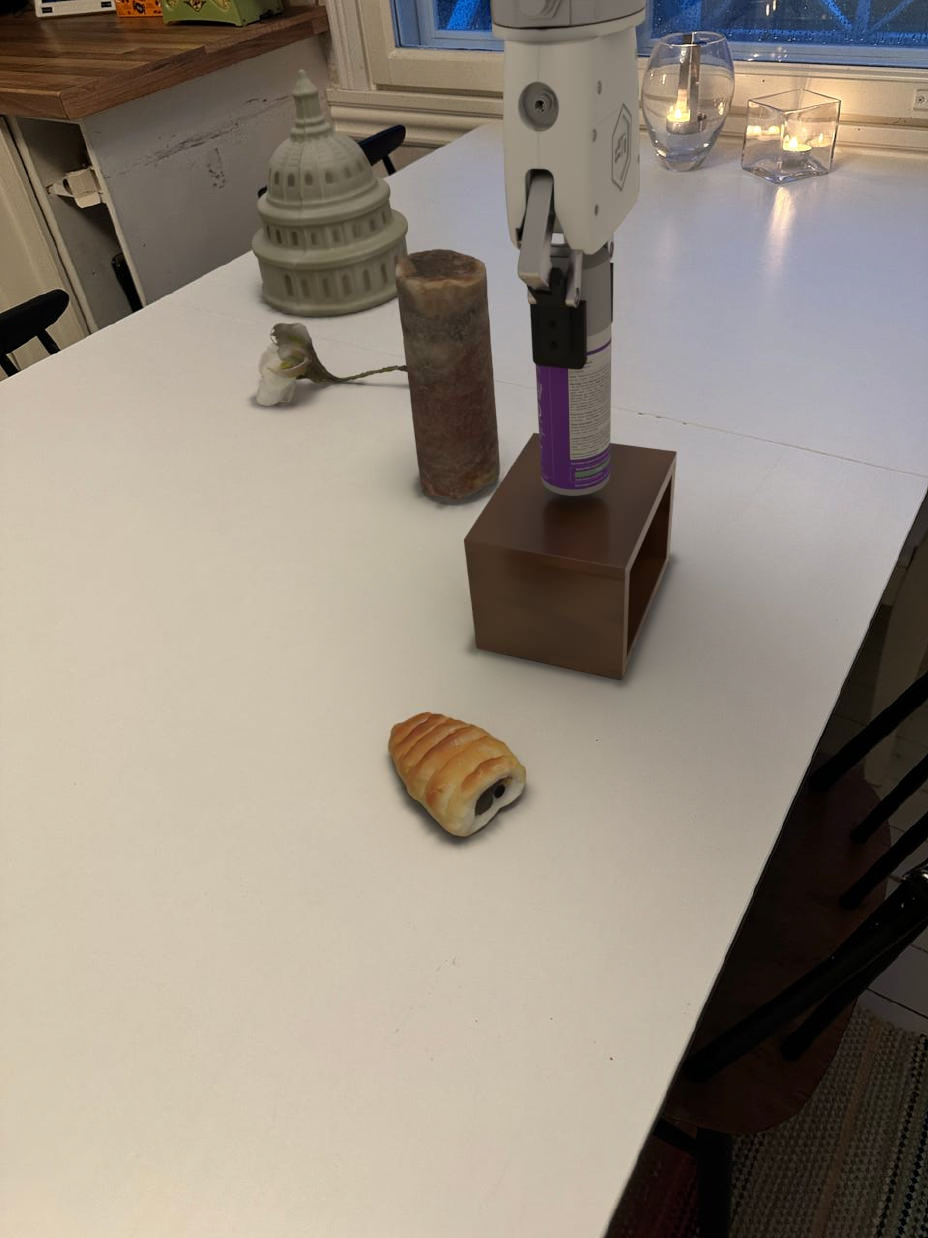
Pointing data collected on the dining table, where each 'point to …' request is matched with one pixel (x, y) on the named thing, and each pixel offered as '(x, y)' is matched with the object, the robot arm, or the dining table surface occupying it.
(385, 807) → the dining table surface
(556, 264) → the container
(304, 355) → the artificial flower
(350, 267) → the dome
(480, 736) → the pastry
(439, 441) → the brown rounded bar
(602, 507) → the shelf
